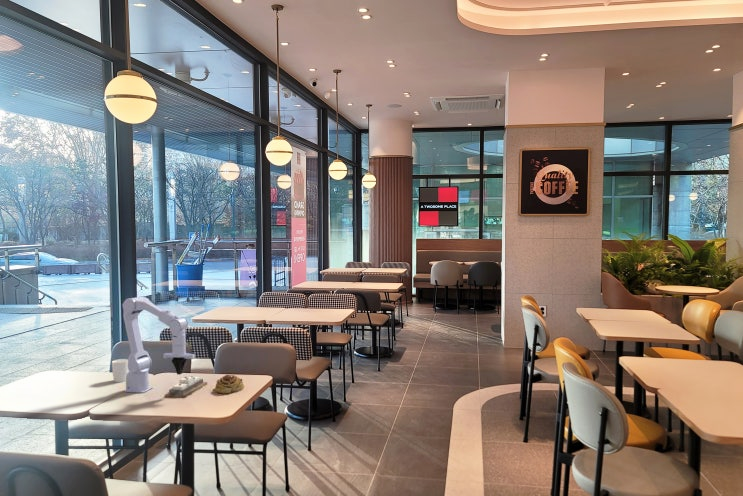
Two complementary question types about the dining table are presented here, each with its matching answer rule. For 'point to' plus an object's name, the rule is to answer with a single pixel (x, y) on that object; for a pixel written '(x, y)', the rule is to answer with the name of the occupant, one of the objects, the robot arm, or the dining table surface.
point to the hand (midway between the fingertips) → (179, 373)
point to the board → (186, 390)
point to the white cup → (120, 370)
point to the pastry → (229, 384)
